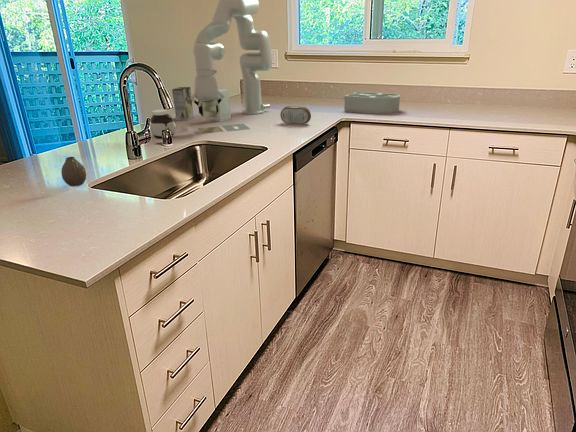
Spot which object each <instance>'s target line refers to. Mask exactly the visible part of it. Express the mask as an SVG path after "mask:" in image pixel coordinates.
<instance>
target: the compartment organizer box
mask: <svg viewBox="0 0 576 432" xmlns="http://www.w3.org/2000/svg"><path fill="white" fill-rule="evenodd" d="M343 99H344V103H343V105H344V107H343V108H344V109H343V110H344V112H346V113H358V114H359V113H360V114H361V113H362V114H374V115H392V114H397V113H399V110H400V100H401V95H400V94H398V93H386V92H367V91H355V92H352V93H351V94H350V93H349V94H346V95H344V96H343Z"/></svg>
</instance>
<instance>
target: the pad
mask: <svg viewBox="0 0 576 432" xmlns="http://www.w3.org/2000/svg"><path fill="white" fill-rule="evenodd" d="M197 129H198V131H200V133H201V134H211V133H212V134H213V133H223V132H225V131H224V130H223V129H222V128H221V127H220V126H210V127H200V128H197Z"/></svg>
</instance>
